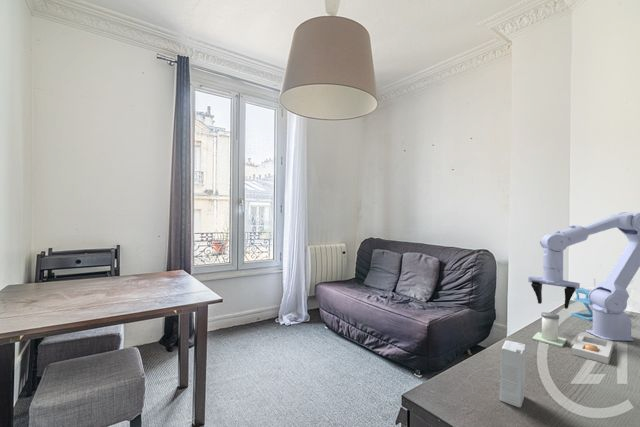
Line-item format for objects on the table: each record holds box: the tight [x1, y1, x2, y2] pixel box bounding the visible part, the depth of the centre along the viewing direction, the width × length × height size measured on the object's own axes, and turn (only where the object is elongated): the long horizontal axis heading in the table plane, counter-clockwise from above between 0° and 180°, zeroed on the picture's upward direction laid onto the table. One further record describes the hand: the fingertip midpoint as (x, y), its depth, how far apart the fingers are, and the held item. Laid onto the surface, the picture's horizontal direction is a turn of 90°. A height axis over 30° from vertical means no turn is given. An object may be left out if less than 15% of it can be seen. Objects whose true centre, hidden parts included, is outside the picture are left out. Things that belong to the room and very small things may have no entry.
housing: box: [571, 333, 614, 365], centre depth 94 cm, size 16×8×2 cm, turn 132°
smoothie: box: [583, 278, 596, 312], centre depth 135 cm, size 6×6×14 cm
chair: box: [570, 287, 593, 322], centre depth 125 cm, size 8×8×12 cm
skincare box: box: [499, 339, 527, 408], centre depth 69 cm, size 6×4×12 cm
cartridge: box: [540, 311, 560, 341], centre depth 102 cm, size 5×5×8 cm
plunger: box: [585, 344, 597, 352], centre depth 91 cm, size 3×3×2 cm
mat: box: [531, 331, 568, 348], centre depth 102 cm, size 8×8×1 cm
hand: (552, 305), depth 109 cm, fingers open, 7 cm apart
